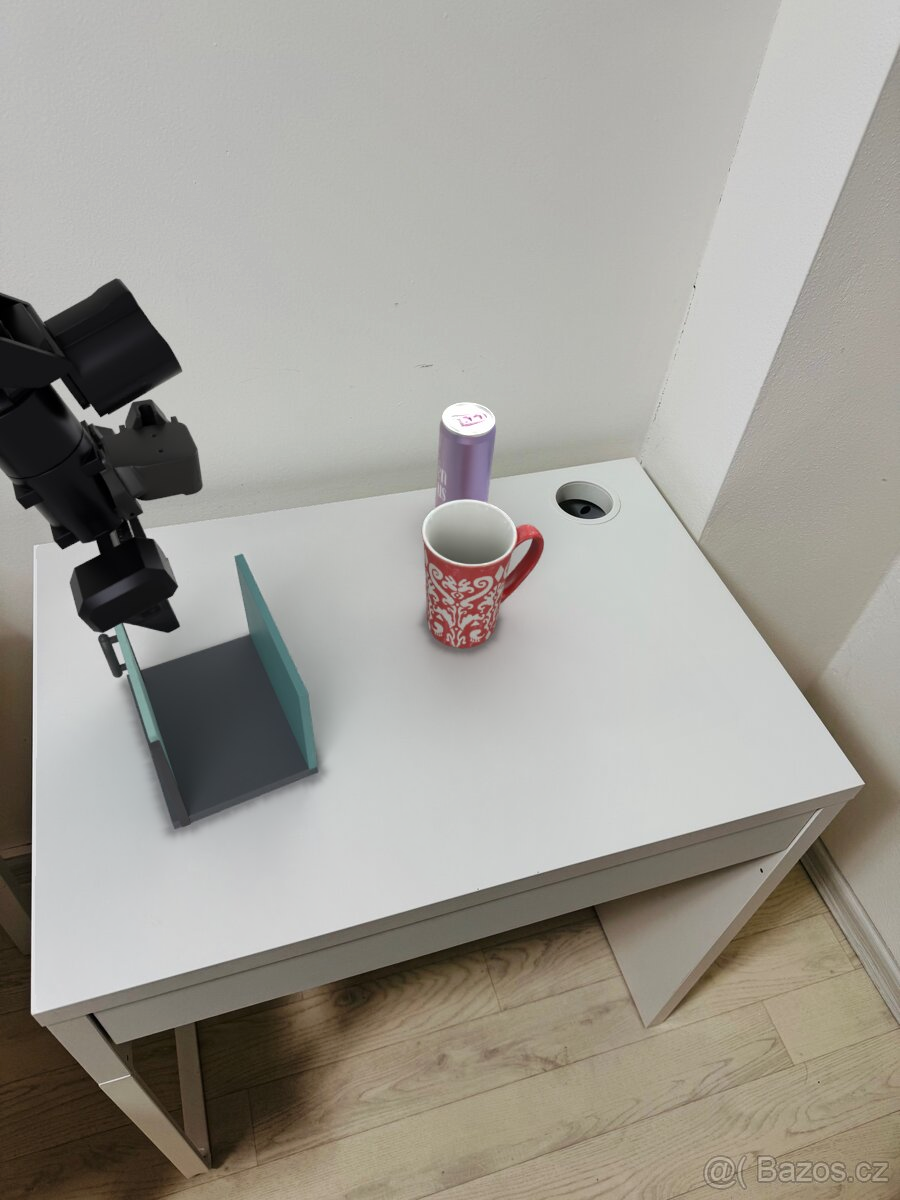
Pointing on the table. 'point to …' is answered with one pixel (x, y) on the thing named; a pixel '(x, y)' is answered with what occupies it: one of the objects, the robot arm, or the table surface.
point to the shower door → (131, 678)
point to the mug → (472, 568)
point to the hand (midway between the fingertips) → (159, 589)
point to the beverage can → (465, 453)
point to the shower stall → (230, 718)
